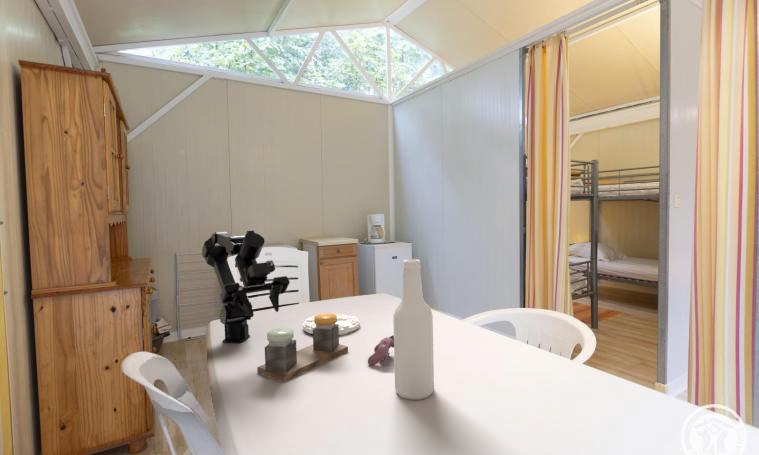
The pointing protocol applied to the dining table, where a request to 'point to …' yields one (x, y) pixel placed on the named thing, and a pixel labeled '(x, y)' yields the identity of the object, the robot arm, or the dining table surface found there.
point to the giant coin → (343, 322)
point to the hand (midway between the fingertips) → (265, 313)
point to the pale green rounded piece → (280, 337)
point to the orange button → (325, 321)
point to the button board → (301, 355)
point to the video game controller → (380, 351)
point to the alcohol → (413, 338)
